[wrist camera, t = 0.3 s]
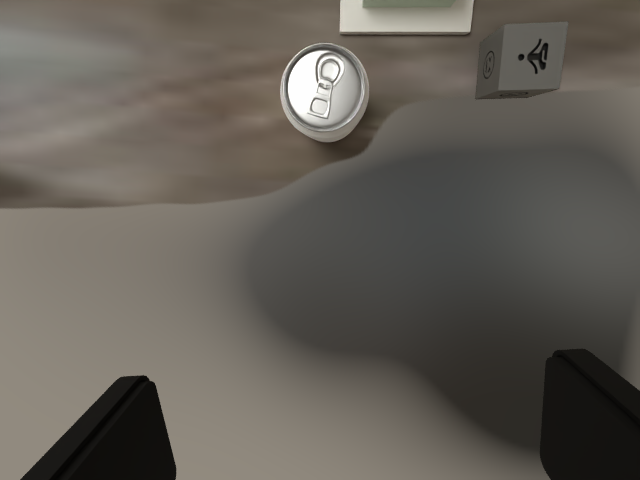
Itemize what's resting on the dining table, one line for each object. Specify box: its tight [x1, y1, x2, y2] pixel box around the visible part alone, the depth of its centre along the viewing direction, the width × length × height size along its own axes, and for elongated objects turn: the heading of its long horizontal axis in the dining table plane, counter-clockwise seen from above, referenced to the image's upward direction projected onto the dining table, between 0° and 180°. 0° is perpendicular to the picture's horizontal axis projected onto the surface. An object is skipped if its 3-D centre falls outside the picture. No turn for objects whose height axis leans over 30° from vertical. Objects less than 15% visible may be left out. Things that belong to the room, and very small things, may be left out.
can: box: [280, 43, 369, 142], centre depth 29 cm, size 6×6×12 cm
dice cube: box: [475, 22, 568, 99], centre depth 31 cm, size 5×5×5 cm
